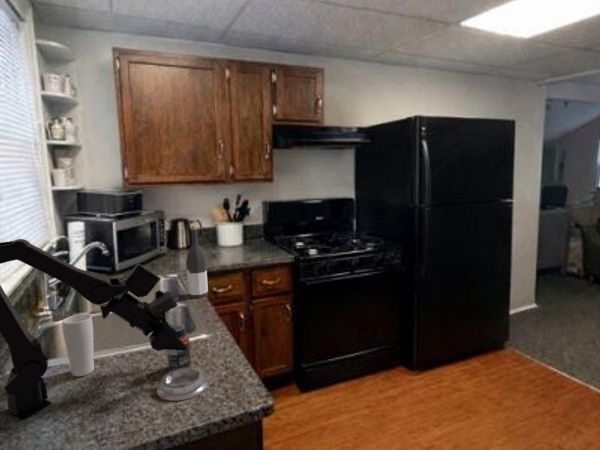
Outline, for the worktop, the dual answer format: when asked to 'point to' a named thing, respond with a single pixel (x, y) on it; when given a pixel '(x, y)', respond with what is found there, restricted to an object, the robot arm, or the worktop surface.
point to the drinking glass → (79, 343)
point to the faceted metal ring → (182, 384)
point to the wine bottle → (196, 268)
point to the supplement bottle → (179, 351)
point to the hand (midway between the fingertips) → (181, 342)
